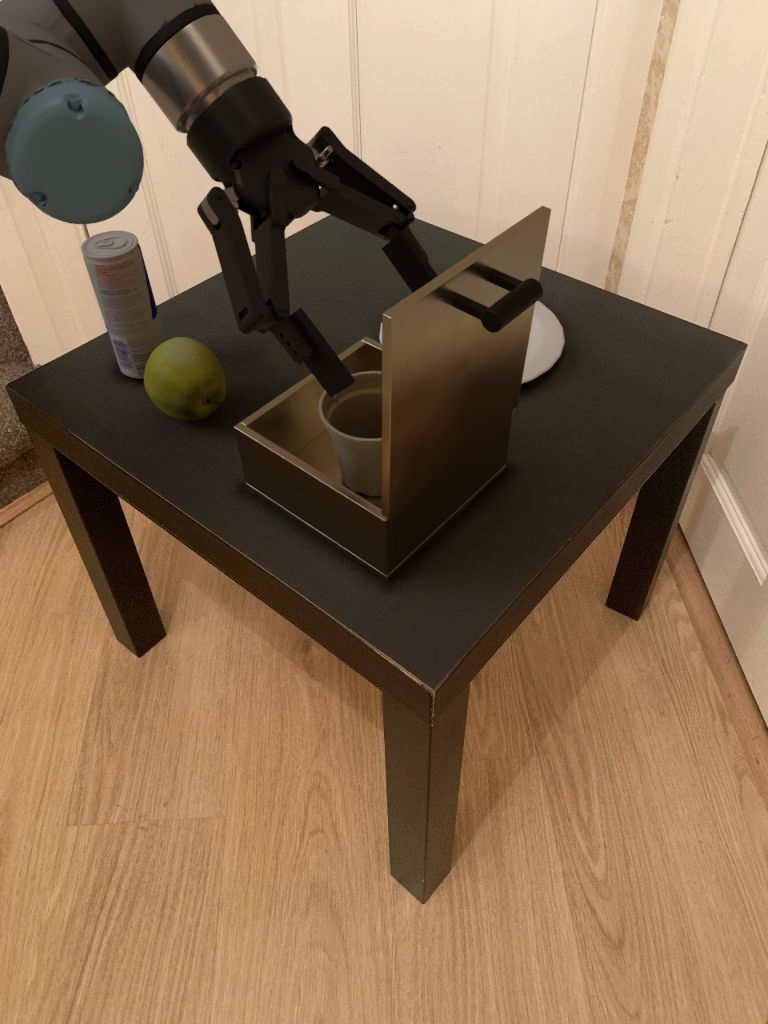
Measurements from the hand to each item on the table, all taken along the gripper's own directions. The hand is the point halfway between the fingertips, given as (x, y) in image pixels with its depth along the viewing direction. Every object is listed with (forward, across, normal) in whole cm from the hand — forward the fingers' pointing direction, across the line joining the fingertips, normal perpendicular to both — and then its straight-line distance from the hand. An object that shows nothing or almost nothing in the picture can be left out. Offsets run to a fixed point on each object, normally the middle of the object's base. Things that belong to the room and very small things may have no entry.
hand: (394, 345), depth 63 cm
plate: (+8, -24, -16) cm, 30 cm away
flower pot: (+10, 0, -13) cm, 16 cm away
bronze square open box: (+10, 0, -13) cm, 17 cm away
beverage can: (-12, -1, -36) cm, 38 cm away
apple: (-6, +2, -29) cm, 30 cm away
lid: (+4, +1, +5) cm, 6 cm away
